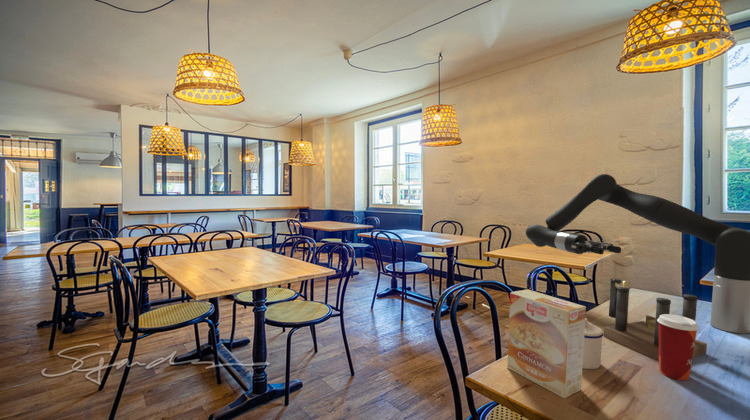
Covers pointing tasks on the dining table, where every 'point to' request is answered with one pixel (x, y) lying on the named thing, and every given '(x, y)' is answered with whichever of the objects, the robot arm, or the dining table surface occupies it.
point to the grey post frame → (613, 295)
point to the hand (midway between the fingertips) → (611, 250)
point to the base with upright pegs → (648, 325)
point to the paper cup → (676, 345)
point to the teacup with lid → (592, 346)
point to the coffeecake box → (546, 341)
